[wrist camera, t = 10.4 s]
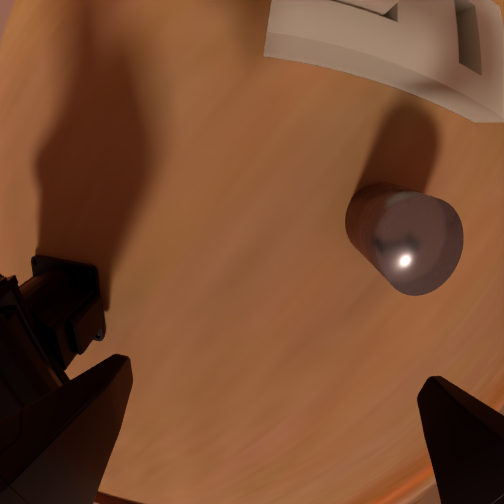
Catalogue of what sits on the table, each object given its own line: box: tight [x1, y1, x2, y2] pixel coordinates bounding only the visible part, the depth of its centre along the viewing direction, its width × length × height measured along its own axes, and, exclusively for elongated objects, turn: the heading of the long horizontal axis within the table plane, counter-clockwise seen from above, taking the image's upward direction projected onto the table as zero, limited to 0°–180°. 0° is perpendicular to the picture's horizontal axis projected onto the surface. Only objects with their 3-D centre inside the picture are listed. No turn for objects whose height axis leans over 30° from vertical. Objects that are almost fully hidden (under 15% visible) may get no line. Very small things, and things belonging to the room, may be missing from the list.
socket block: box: [264, 0, 504, 123], centre depth 12 cm, size 16×10×4 cm, turn 82°
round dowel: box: [345, 182, 463, 296], centre depth 15 cm, size 5×5×6 cm
